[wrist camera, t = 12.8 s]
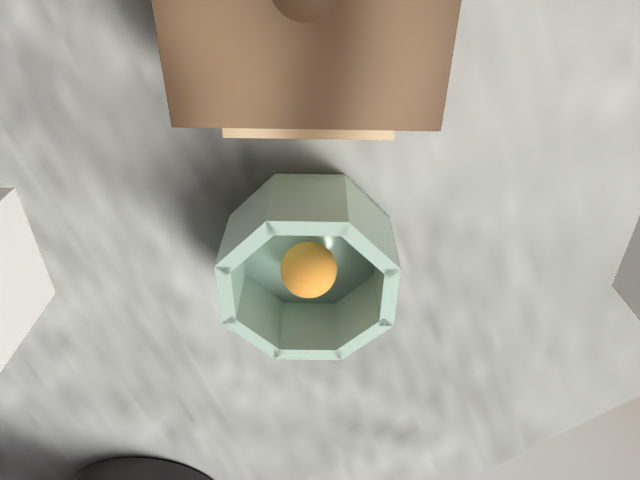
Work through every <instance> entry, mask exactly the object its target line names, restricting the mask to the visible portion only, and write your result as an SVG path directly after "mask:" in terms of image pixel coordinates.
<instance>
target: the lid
mask: <svg viewBox="0 0 640 480" xmlns="http://www.w3.org/2000/svg"><path fill="white" fill-rule="evenodd" d="M151 3H152V9H153V15H154V21H155V28H156V34H157V40H158V46H159V52H160V58H161V65H162V71H163V77H164V83H165V89H166V95H167V101H168V108H169V114H170V120H171V126H172V127H183V128H252V129H320V130H389V131H441V126H442V120H443V113H444V107H445V101H446V94H447V88H448V82H449V75H450V69H451V63H452V56H453V50H454V44H455V37H456V31H457V25H458V18H459V12H460V6H461V0H151Z"/></svg>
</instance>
